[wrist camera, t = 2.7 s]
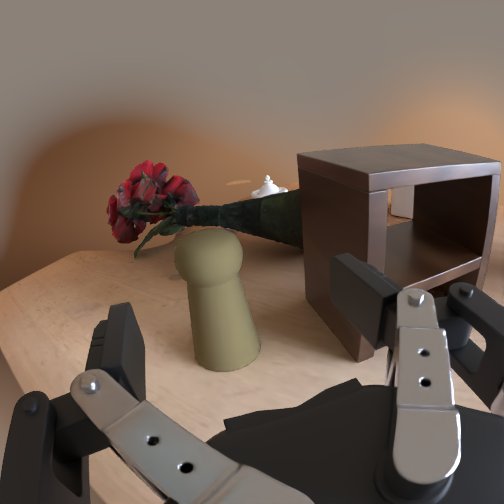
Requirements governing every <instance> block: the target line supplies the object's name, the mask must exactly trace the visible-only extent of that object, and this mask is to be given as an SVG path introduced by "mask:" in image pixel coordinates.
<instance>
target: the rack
mask: <svg viewBox="0 0 504 504" xmlns="http://www.w3.org/2000/svg"><path fill="white" fill-rule="evenodd" d="M297 162H298V174H299V187H300V201H301V215H302V231H303V249H304V269H305V293H306V299H307V300H308V302H309V303H310V304H311V305H312V307H313V308H314V309H315V310H316V312H317V313H318V314H319V315H320V317H321V318H322V319H323V320H324V321H325V323H326V324H327V325H328V326H329V328H330V329H331V330H332V331H333V333H334V334H335V335H336V336H337V338H338V339H339V340H340V341H341V343H342V344H343V345H344V346H345V348H346V349H347V350H348V351H349V353H350V354H351V355H352V356H353V358H354V359H355V360H356V361H357V363H359V362H361V361H364V360H366V359H369V358H371V357H373V355H374V348H373V347H372V346H371V344H370V343H369V342H368V341H367V340H366V339H365V338H364V337H363V336H362V335H361V333H360V332H359V331H358V330H357V329H356V328H355V327H354V326H353V325H352V324H351V323H350V321H349V320H348V319H347V318H346V317H345V316H344V315H343V314H342V313H341V312H340V311H339V309H338V308H337V307H336V306H335V305H334V304H333V302H332V301H331V298H330V294H329V260H330V257H332V256H336V255H340V254H344V253H349V254H351V255H352V256H354V257H355V258H356V259H358V260H359V261H363V262H365V263H368V264H371V265H373V266H374V267H376V268H377V269H378V270H380V272H382V273H384V274H385V275H386V277H387V276H388V277H389V278H390V279H392V280H393V281H394V282H396V283H397V284H398V285H400V286H401V287H402V288H404V289H408V288H417V289H422V290H425V291H427V290H429V289H431V288H434V287H436V286H437V287H438V288H439V289H441V290H442V291H444V292H445V293H446V294H448V292H449V288H450V286H451V285H452V284H454V283H459V282H463V283H468V284H471V285H474V286H475V287H477V288H478V289H480V290H481V291H482V288H483V284H484V280H485V275H486V271H487V266H488V262H489V257H490V252H491V246H492V241H493V235H494V229H495V222H496V215H497V207H498V198H499V187H500V172H501V162H500V161H497V160H493V159H490V158H486V157H482V156H478V155H474V154H470V153H466V152H461V151H456V150H452V149H448V148H443V147H437V146H433V145H428V144H404V145H384V146H369V147H356V148H344V149H333V150H323V151H313V152H305V153H298V154H297ZM413 185H414V203H413V221H409V222H404V223H400V224H396V225H391V226H387V208H388V190H387V189H393V188H399V187H406V186H413Z"/></svg>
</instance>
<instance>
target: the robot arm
mask: <svg viewBox="0 0 504 504" xmlns="http://www.w3.org/2000/svg"><path fill="white" fill-rule="evenodd" d="M329 294H330V298H331V301H332V302H333V304H334V305H335V306H336V307H337V308H338V309H339V311H340V312H341V313H342V314H343V315H344V316H345V317H346V318H347V319H348V320H349V321H350V323H351V324H352V325H353V326H354V327H355V328H356V329H357V330H358V331H359V332H360V333H361V335H362V336H363V337H364V338H365V339H366V340H367V341H368V342H369V343H370V344H371V346H372V347H373V348H374V349H375V350H377V349H380V348H382V347H384V346H388V347H389V349H388V354H387V365H386V376H385V385H365V386H362V385H361V384H360V383H359V381H358V380H357V379H356V378H354V379H351V380H349V381H346V382H344V383H341V384H339V385H336V386H333V387H331V388H328V389H326V390H324V391H322V392H321V393H319V394H318V395H316V396H314V397H313V398H311V399H309V400H308V401H306V402H304V403H303V404H301V405H299V406H297V407H293V408H285V409H275V410H263V411H256V412H252V413H249V414H245V415H241V416H237V417H233V418H229V419H225V420H223V421H224V424H225V428H226V430H224V431H222V432H220V433H218V434H217V435H215V436H213V437H212V438H211V439H209V440H208V441H207V442H206V443H205V442H203V441H202V440H200V439H199V438H197V437H196V436H194V435H193V434H191V433H190V432H189V431H187V430H186V429H184V428H183V427H181V426H180V425H179V424H177V423H176V422H175V421H173V420H172V419H171V418H169V417H168V416H167V415H165V414H164V413H163V412H161V411H160V410H159V409H158V408H156V407H155V406H154V405H152V404H151V403H150V402H149V401H147V400H146V387H145V345H144V340H143V337H142V334H141V331H140V328H139V326H138V323H137V320H136V317H135V314H134V312H133V309H132V306H131V304H130V303H129V302H126V303H121V304H116V305H111V306H110V310H109V315H108V319H107V320H102V321H100V322H99V324H98V325H97V326H96V328H95V329H94V332H93V336H92V340H91V345H90V347H91V348H90V349H89V354H88V358H87V363H86V368H85V372H83V373H81V374H79V375H78V376H77V377H76V378H75V379H74V380H73V382H72V383H71V386H70V392H69V393H67V394H65V395H62V396H60V397H57V398H55V399H52V400H49V398H48V397H47V395H46V394H45V393H43V392H41V391H33V392H29V393H27V394H25V395H24V396H22V397H21V398H20V399H19V400H18V402H17V403H16V405H15V408H14V412H13V415H12V420H11V424H10V428H9V433H8V438H7V443H6V448H5V453H4V459H3V465H2V471H1V478H0V504H90V488H89V455H90V454H93V453H95V452H98V451H101V450H103V449H106V448H108V447H109V448H110V449H111V450H112V451H113V452H114V453H115V454H116V455H117V456H118V457H119V458H120V459H121V460H122V461H123V462H124V463H125V464H126V465H127V466H128V467H129V468H130V469H131V470H132V471H133V472H134V473H135V474H136V475H137V476H138V477H139V478H140V479H141V480H142V481H143V482H144V483H145V484H146V485H147V486H148V487H149V488H150V489H151V490H152V491H153V492H154V493H155V494H156V495H157V496H159V497H160V498H161V499H162V500H163V501H164V502H165V503H164V504H504V307H503V306H502V305H500V304H499V303H498V302H496V301H495V300H493V299H492V298H491V297H489V296H488V295H487V294H485V293H484V292H483V291H481V290H480V289H478V288H477V287H475V286H474V285H471V284H468V283H463V282H459V283H454V284H452V285H451V286H450V288H449V292H448V296H446V297H439V298H433V296H432V295H431V294H430V293H428V292H427V291H425V290H422V289H417V288H408V289H404V288H402V287H401V286H400V285H398V284H397V283H396V282H394V281H393V280H392V279H390V278H389V277H388V276H387V277H386V275H385V274H384V273H382V272H380V270H378V269H377V268H376V267H374V266H373V265H371V264H368V263H365V262H363V261H359V260H358V259H356V258H355V257H354V256H352V255H351V254H349V253H344V254H340V255H336V256H332V257H330V260H329ZM472 327H473V328H474V329H476V330H477V331H478V332H479V333H480V334H481V335H482V336H483V337H484V338H485V340H486V350H485V352H484V351H482V350H481V349H480V348H479V347H478V346H477V345H476V344H475V343H474V342H473V341H472V340H471V339H469V336H470V333H471V330H472ZM451 368H452V369H453V370H454V371H455V372H456V373H457V374H458V375H459V376H460V377H461V378H462V379H463V381H464V382H465V383H466V384H467V385H468V386H469V387H470V388H471V389H472V390H473V391H474V393H475V394H476V395H477V396H478V397H479V398H480V399H481V400H482V401H483V403H484V404H485V405H486V406H487V407H488V408H489V409H490V410H491V413H487V412H483V411H479V410H475V409H471V408H467V407H463V406H459V405H455V404H454V396H453V385H452V375H451Z"/></svg>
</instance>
